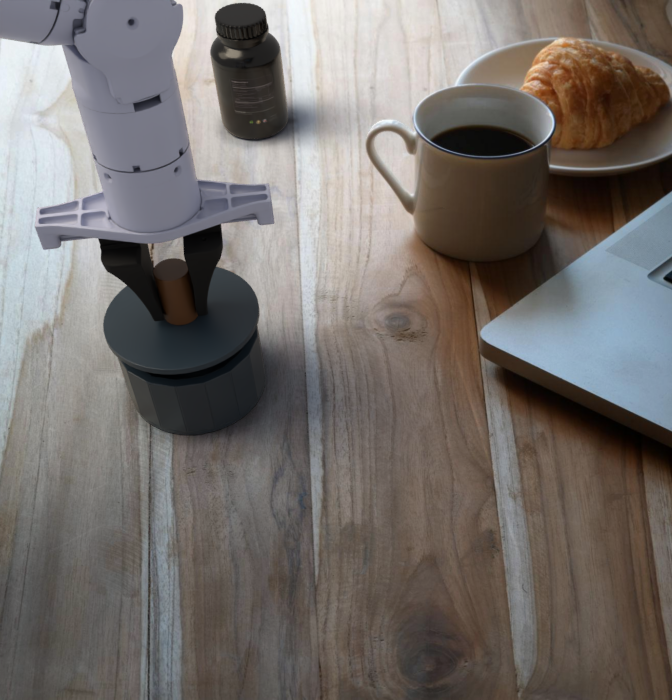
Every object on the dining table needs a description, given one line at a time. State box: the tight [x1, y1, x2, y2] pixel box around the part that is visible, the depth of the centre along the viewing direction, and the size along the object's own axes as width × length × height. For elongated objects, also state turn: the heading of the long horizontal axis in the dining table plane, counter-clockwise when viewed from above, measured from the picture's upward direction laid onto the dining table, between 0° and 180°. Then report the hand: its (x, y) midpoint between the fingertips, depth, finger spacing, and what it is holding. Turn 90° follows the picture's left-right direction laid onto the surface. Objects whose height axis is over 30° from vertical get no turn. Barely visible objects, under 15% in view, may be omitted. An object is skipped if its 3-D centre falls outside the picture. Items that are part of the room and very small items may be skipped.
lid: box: [102, 257, 260, 374], centre depth 65 cm, size 11×11×5 cm
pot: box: [116, 324, 266, 436], centre depth 70 cm, size 10×10×5 cm
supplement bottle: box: [209, 2, 289, 140], centre depth 92 cm, size 7×7×12 cm
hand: (181, 308), depth 66 cm, fingers closed on lid, 2 cm apart
